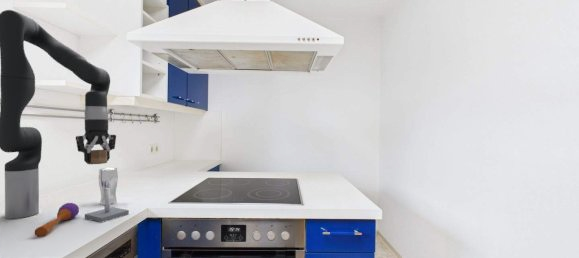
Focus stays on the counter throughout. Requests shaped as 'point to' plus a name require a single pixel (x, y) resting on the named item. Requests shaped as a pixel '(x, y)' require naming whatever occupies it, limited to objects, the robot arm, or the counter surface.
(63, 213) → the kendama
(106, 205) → the rod stand
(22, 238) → the counter surface
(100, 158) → the bead
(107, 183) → the beer glass
